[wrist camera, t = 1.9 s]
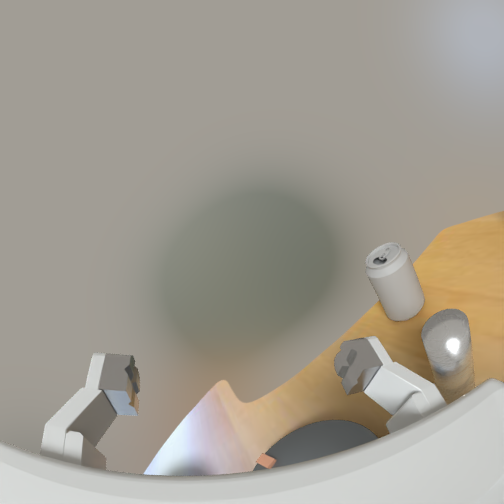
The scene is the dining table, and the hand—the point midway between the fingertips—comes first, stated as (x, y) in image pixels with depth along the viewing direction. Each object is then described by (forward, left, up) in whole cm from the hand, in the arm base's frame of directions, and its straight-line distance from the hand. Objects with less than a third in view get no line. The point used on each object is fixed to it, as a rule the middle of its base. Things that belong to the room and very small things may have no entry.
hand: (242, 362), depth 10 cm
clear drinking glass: (+15, -2, -27) cm, 31 cm away
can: (+31, +10, -27) cm, 42 cm away
